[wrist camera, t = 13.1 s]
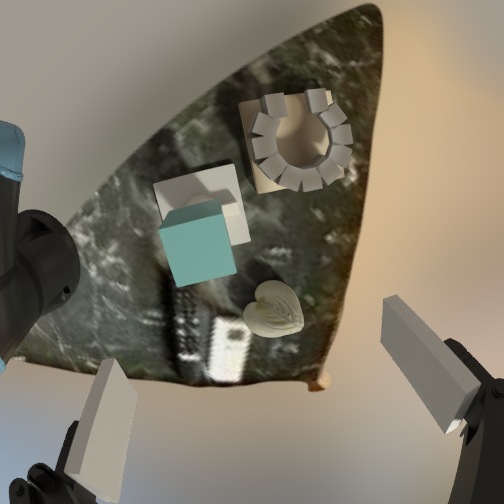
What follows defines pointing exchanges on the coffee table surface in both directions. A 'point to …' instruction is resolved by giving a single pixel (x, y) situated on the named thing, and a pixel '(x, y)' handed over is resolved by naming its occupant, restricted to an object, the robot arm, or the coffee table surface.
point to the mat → (210, 183)
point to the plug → (199, 240)
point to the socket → (295, 140)
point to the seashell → (274, 310)
